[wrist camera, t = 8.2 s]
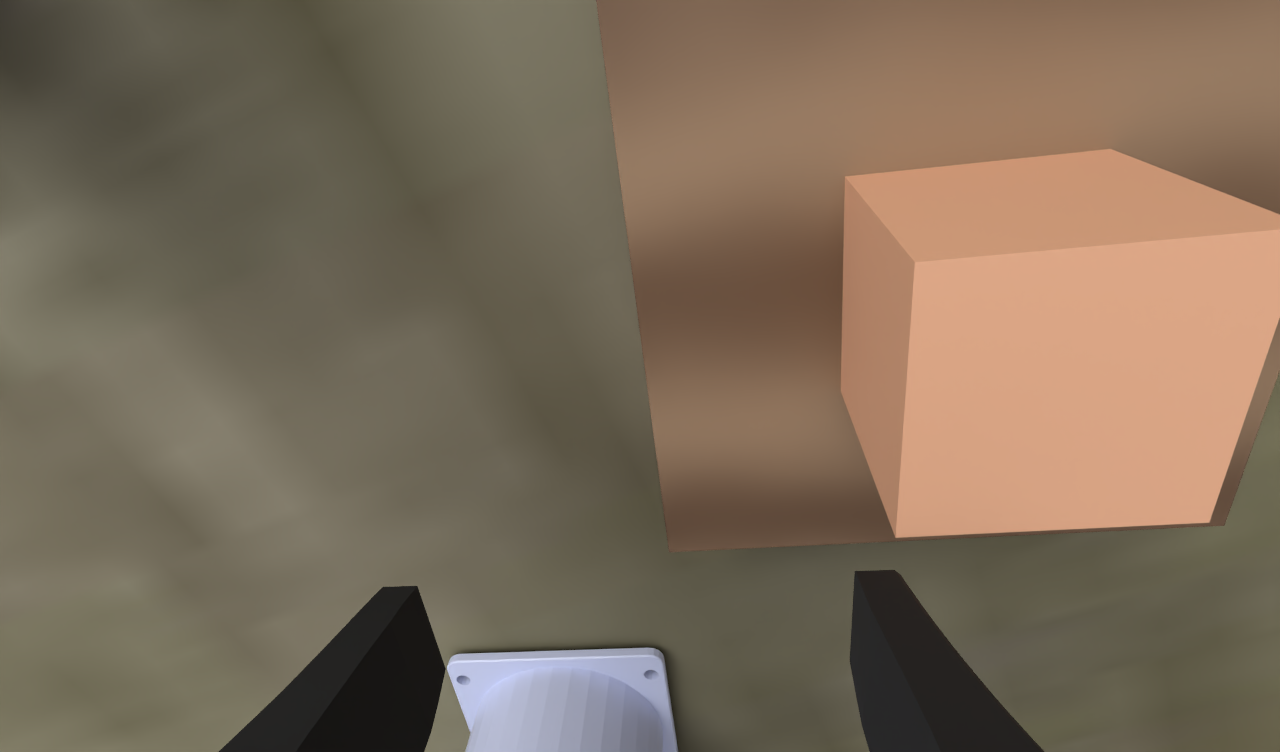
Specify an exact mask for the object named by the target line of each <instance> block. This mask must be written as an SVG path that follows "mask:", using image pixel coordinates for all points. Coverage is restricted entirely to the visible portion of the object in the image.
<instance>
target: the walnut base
mask: <svg viewBox="0 0 1280 752" xmlns="http://www.w3.org/2000/svg"><path fill="white" fill-rule="evenodd" d="M596 2H597V10H598V17H599V25H600V32H601V40H602V47H603V55H604V63H605V70H606V78H607V85H608V93H609V101H610V108H611V116H612V123H613V131H614V138H615V146H616V154H617V161H618V169H619V176H620V184H621V191H622V199H623V207H624V214H625V222H626V229H627V237H628V244H629V252H630V260H631V267H632V275H633V282H634V290H635V298H636V305H637V313H638V320H639V328H640V335H641V343H642V351H643V358H644V366H645V373H646V381H647V388H648V396H649V404H650V411H651V419H652V426H653V434H654V442H655V449H656V457H657V464H658V472H659V479H660V487H661V495H662V502H663V510H664V517H665V525H666V532H667V540H668V548H669V552H683V551H704V550H725V549H746V548H767V547H788V546H809V545H829V544H850V543H871V542H892V541H913V540H934V539H955V538H976V537H997V536H1017V535H1038V534H1059V533H1080V532H1101V531H1122V530H1143V529H1164V528H1185V527H1205V526H1224V525H1225V522H1226V520H1227V517H1228V514H1229V511H1230V508H1231V506H1232V503H1233V500H1234V497H1235V494H1236V492H1237V489H1238V486H1239V483H1240V480H1241V478H1242V475H1243V472H1244V469H1245V466H1246V464H1247V461H1248V458H1249V455H1250V452H1251V450H1252V447H1253V444H1254V441H1255V438H1256V436H1257V433H1258V430H1259V427H1260V425H1261V422H1262V419H1263V416H1264V413H1265V411H1266V408H1267V405H1268V402H1269V399H1270V397H1271V394H1272V391H1273V388H1274V385H1275V383H1276V380H1277V377H1278V374H1279V371H1280V318H1279V321H1278V324H1277V327H1276V330H1275V333H1274V336H1273V339H1272V342H1271V344H1270V347H1269V350H1268V353H1267V356H1266V359H1265V362H1264V365H1263V368H1262V371H1261V374H1260V376H1259V379H1258V382H1257V385H1256V388H1255V391H1254V394H1253V397H1252V400H1251V403H1250V406H1249V408H1248V411H1247V414H1246V417H1245V420H1244V423H1243V426H1242V429H1241V432H1240V435H1239V438H1238V441H1237V443H1236V446H1235V449H1234V452H1233V455H1232V458H1231V461H1230V464H1229V467H1228V470H1227V473H1226V475H1225V478H1224V481H1223V484H1222V487H1221V490H1220V493H1219V496H1218V499H1217V502H1216V505H1215V507H1214V510H1213V513H1212V516H1211V519H1210V522H1209V523H1191V524H1170V525H1150V526H1129V527H1108V528H1088V529H1067V530H1046V531H1026V532H1005V533H984V534H964V535H943V536H922V537H902V538H895V535H894V532H893V530H892V527H891V524H890V522H889V519H888V516H887V514H886V511H885V508H884V506H883V503H882V500H881V498H880V495H879V492H878V490H877V487H876V484H875V482H874V479H873V476H872V474H871V471H870V468H869V466H868V463H867V460H866V458H865V455H864V452H863V450H862V447H861V444H860V442H859V439H858V436H857V434H856V431H855V428H854V426H853V423H852V420H851V418H850V415H849V412H848V410H847V407H846V404H845V402H844V399H843V396H842V394H841V352H842V300H843V247H844V195H845V176H855V175H865V174H874V173H884V172H893V171H903V170H913V169H922V168H932V167H942V166H951V165H961V164H970V163H980V162H990V161H999V160H1009V159H1018V158H1028V157H1038V156H1047V155H1057V154H1067V153H1076V152H1086V151H1095V150H1105V149H1112V150H1115V151H1117V152H1120V153H1122V154H1125V155H1128V156H1130V157H1133V158H1135V159H1138V160H1140V161H1143V162H1146V163H1148V164H1151V165H1153V166H1156V167H1159V168H1161V169H1164V170H1166V171H1169V172H1171V173H1174V174H1177V175H1179V176H1182V177H1184V178H1187V179H1189V180H1192V181H1195V182H1197V183H1200V184H1202V185H1205V186H1207V187H1210V188H1213V189H1215V190H1218V191H1220V192H1223V193H1226V194H1228V195H1231V196H1233V197H1236V198H1238V199H1241V200H1244V201H1246V202H1249V203H1251V204H1254V205H1256V206H1259V207H1262V208H1264V209H1267V210H1269V211H1272V212H1275V213H1277V214H1280V0H596Z"/></svg>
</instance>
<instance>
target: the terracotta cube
mask: <svg viewBox="0 0 1280 752" xmlns="http://www.w3.org/2000/svg"><path fill="white" fill-rule="evenodd" d="M1279 318H1280V214H1277V213H1275V212H1272V211H1269V210H1267V209H1264V208H1262V207H1259V206H1256V205H1254V204H1251V203H1249V202H1246V201H1244V200H1241V199H1238V198H1236V197H1233V196H1231V195H1228V194H1226V193H1223V192H1220V191H1218V190H1215V189H1213V188H1210V187H1207V186H1205V185H1202V184H1200V183H1197V182H1195V181H1192V180H1189V179H1187V178H1184V177H1182V176H1179V175H1177V174H1174V173H1171V172H1169V171H1166V170H1164V169H1161V168H1159V167H1156V166H1153V165H1151V164H1148V163H1146V162H1143V161H1140V160H1138V159H1135V158H1133V157H1130V156H1128V155H1125V154H1122V153H1120V152H1117V151H1115V150H1112V149H1105V150H1095V151H1086V152H1076V153H1067V154H1057V155H1047V156H1038V157H1028V158H1018V159H1009V160H999V161H990V162H980V163H970V164H961V165H951V166H942V167H932V168H922V169H913V170H903V171H893V172H884V173H874V174H865V175H855V176H845V195H844V247H843V300H842V352H841V394H842V396H843V399H844V402H845V404H846V407H847V410H848V412H849V415H850V418H851V420H852V423H853V426H854V428H855V431H856V434H857V436H858V439H859V442H860V444H861V447H862V450H863V452H864V455H865V458H866V460H867V463H868V466H869V468H870V471H871V474H872V476H873V479H874V482H875V484H876V487H877V490H878V492H879V495H880V498H881V500H882V503H883V506H884V508H885V511H886V514H887V516H888V519H889V522H890V524H891V527H892V530H893V532H894V535H895V538H902V537H922V536H943V535H964V534H984V533H1005V532H1026V531H1046V530H1067V529H1088V528H1108V527H1129V526H1150V525H1170V524H1191V523H1209V522H1210V519H1211V516H1212V513H1213V510H1214V507H1215V505H1216V502H1217V499H1218V496H1219V493H1220V490H1221V487H1222V484H1223V481H1224V478H1225V475H1226V473H1227V470H1228V467H1229V464H1230V461H1231V458H1232V455H1233V452H1234V449H1235V446H1236V443H1237V441H1238V438H1239V435H1240V432H1241V429H1242V426H1243V423H1244V420H1245V417H1246V414H1247V411H1248V408H1249V406H1250V403H1251V400H1252V397H1253V394H1254V391H1255V388H1256V385H1257V382H1258V379H1259V376H1260V374H1261V371H1262V368H1263V365H1264V362H1265V359H1266V356H1267V353H1268V350H1269V347H1270V344H1271V342H1272V339H1273V336H1274V333H1275V330H1276V327H1277V324H1278V321H1279Z"/></svg>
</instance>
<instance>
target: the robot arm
mask: <svg viewBox="0 0 1280 752" xmlns="http://www.w3.org/2000/svg"><path fill="white" fill-rule="evenodd" d="M850 664H851V669H852V675H853V680H854V686H855V691H856V697H857V702H858V707H859V712H860V717H861V722H862V727H863V730H864V734H865V737H866V741H867V744H868V747H869V751H870V752H1044V751H1043V750H1042V749H1041V748H1040V747H1039V746H1038V744H1037V743H1036V742H1035V741H1034V740H1033V739H1032V738H1031V737H1030V736H1029V735H1028V734H1027V732H1026V731H1025V730H1024V729H1023V728H1022V727H1021V726H1020V725H1019V724H1018V723H1017V722H1016V720H1015V719H1014V718H1013V717H1012V716H1011V715H1010V714H1009V713H1008V712H1007V710H1006V709H1005V708H1004V707H1003V706H1002V705H1001V704H1000V702H999V701H998V700H997V699H996V698H995V697H994V696H993V694H992V693H991V692H990V691H989V690H988V688H987V687H986V686H985V685H984V684H983V682H982V681H981V680H980V679H979V678H978V676H977V675H976V674H975V673H974V672H973V670H972V669H971V668H970V667H969V666H968V664H967V663H966V662H965V661H964V660H963V658H962V657H961V656H960V655H959V653H958V652H957V651H956V650H955V648H954V647H953V646H952V645H951V643H950V642H949V641H948V639H947V638H946V637H945V636H944V634H943V633H942V632H941V630H940V629H939V628H938V626H937V625H936V624H935V622H934V621H933V620H932V618H931V617H930V616H929V614H928V613H927V612H926V610H925V609H924V608H923V606H922V605H921V603H920V602H919V601H918V599H917V598H916V596H915V595H914V594H913V592H912V591H911V589H910V588H909V586H908V585H907V584H906V582H905V581H904V579H903V578H902V576H901V575H900V574H899V573H898V572H896V571H895V570H880V571H855V577H854V595H853V613H852V631H851V649H850ZM447 671H448V673H449V676H450V679H451V681H452V684H453V687H454V689H455V692H456V695H457V698H458V700H459V703H460V706H461V708H462V711H463V714H464V716H465V719H466V722H467V725H468V727H469V730H470V733H471V734H470V738H469V741H468V744H467V748H466V751H465V752H678V747H677V740H676V733H675V727H674V720H673V713H672V707H671V700H670V694H669V687H668V680H667V674H666V667H665V660H664V656H663V654H662V652H660V651H659V650H657V649H655V648H620V649H590V650H559V651H529V652H499V653H468V654H456V655H454V656H452V657H451V658H450V660H449V663H448V666H447ZM444 674H445V666H444V663H443V660H442V657H441V654H440V651H439V648H438V645H437V642H436V640H435V637H434V634H433V631H432V628H431V625H430V622H429V619H428V616H427V613H426V610H425V607H424V604H423V601H422V599H421V596H420V593H419V590H418V587H417V586H400V587H382V588H381V589H380V590H379V591H378V592H377V593H376V594H375V595H374V596H373V597H372V598H371V600H370V601H369V602H368V603H367V604H366V605H365V606H364V607H363V608H362V609H361V610H360V611H359V612H358V613H357V614H356V615H355V616H354V617H353V618H352V619H351V621H350V622H349V623H348V624H347V625H346V626H345V627H344V628H343V629H342V630H341V631H340V632H339V633H338V634H337V635H336V636H335V637H334V638H333V639H332V641H331V642H330V643H329V644H328V645H327V646H326V647H325V648H324V649H323V650H322V651H321V652H320V653H319V654H318V655H317V656H316V657H315V658H314V659H313V660H312V661H311V662H310V663H309V664H308V665H307V666H306V667H305V668H304V670H303V671H302V672H301V673H300V674H299V675H298V676H297V677H296V678H295V679H294V680H293V681H292V682H291V683H290V684H289V685H288V686H287V687H286V688H285V689H284V690H283V691H282V692H281V693H280V694H279V695H278V696H277V697H276V698H275V699H274V700H273V701H272V702H271V703H269V704H268V705H267V706H266V707H265V708H264V709H263V710H262V711H261V712H260V713H259V714H258V715H257V716H256V717H255V718H254V719H253V720H252V721H251V722H250V723H249V724H247V725H246V726H245V727H244V728H243V729H242V730H241V731H240V732H239V733H238V734H237V735H236V736H235V737H234V738H233V739H232V740H231V741H230V742H229V743H228V744H226V745H225V746H224V747H223V748H222V749H221V750H220V751H219V752H424V750H425V748H426V745H427V742H428V739H429V736H430V733H431V730H432V726H433V722H434V718H435V714H436V710H437V706H438V701H439V697H440V692H441V688H442V683H443V678H444Z"/></svg>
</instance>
